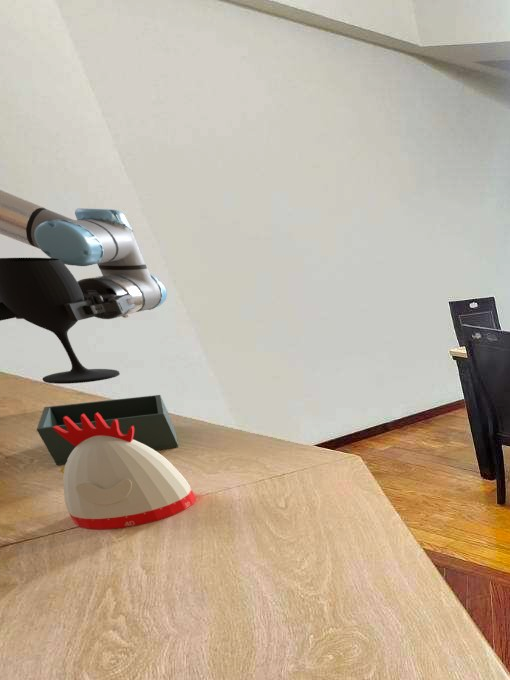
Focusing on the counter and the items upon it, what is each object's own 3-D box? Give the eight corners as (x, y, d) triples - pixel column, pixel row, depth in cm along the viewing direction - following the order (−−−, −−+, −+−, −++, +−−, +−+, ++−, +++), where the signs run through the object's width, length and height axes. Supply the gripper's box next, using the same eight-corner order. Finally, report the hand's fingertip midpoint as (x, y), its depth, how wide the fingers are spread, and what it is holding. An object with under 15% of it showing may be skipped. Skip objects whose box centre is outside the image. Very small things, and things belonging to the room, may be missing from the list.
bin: (62, 440, 115) (44, 406, 112) (174, 425, 125) (160, 394, 122) (56, 465, 104) (36, 429, 101) (178, 447, 114) (163, 413, 111)
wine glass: (108, 368, 117) (55, 256, 107) (129, 376, 113) (76, 260, 103) (34, 377, 109) (-31, 257, 99) (54, 386, 105) (-11, 262, 95)
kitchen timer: (95, 498, 94) (44, 405, 86) (204, 486, 99) (165, 397, 92) (57, 536, 83) (-5, 433, 76) (182, 519, 89) (136, 422, 81)
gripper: (182, 316, 125) (123, 334, 106) (47, 316, 119) (-41, 335, 100) (167, 278, 121) (102, 289, 103) (26, 276, 115) (-69, 288, 96)
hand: (31, 312), depth 101 cm, fingers closed on wine glass, 10 cm apart
